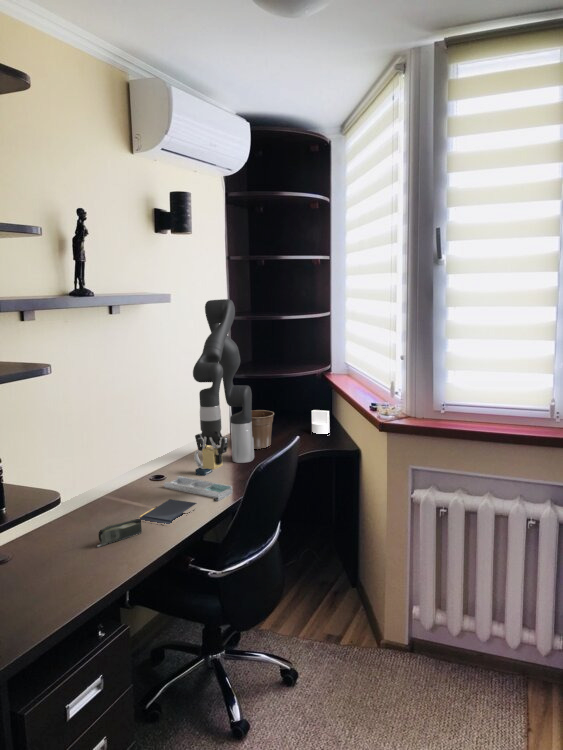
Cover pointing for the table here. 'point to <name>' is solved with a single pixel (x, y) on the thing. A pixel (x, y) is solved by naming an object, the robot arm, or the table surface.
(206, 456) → the tan block
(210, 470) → the watch
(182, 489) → the tray with compartments
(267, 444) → the plant pot
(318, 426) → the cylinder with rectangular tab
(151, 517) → the dark blue notebook
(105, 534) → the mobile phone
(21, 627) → the table surface
